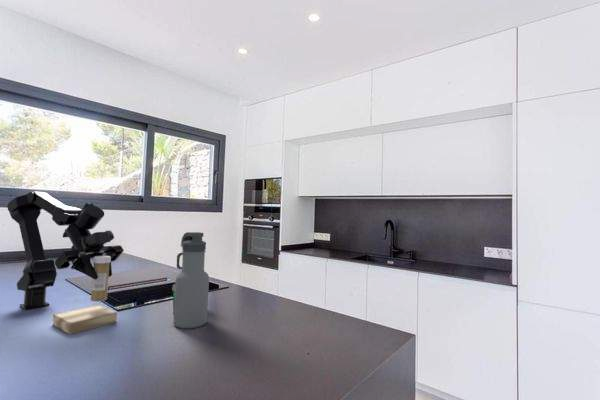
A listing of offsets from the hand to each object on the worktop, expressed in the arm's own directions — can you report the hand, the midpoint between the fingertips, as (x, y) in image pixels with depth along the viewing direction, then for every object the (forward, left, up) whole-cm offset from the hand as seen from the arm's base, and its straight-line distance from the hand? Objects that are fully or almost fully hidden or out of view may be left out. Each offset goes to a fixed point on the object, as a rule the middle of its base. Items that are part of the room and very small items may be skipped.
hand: (103, 277), depth 96 cm
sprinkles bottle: (-1, 0, -7) cm, 7 cm away
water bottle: (+23, +15, -13) cm, 31 cm away
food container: (+12, +23, -13) cm, 29 cm away
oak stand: (-1, -4, -13) cm, 14 cm away
